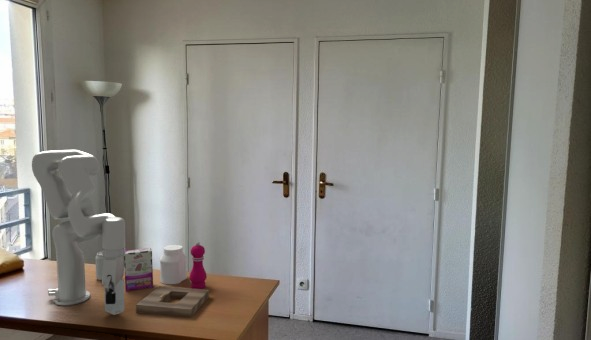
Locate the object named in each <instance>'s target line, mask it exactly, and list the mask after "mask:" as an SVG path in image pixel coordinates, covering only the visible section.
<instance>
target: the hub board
mask: <svg viewBox="0 0 591 340" xmlns="http://www.w3.org/2000/svg"><path fill="white" fill-rule="evenodd" d="M209 297H210V290H209V289H204V288H203V289H192V288H191V287H189V288H188V287H179V286H178V287H175V286H163V285H159V286H158V287H156V288H155V289H154V290H152V292H150V293H149V294H148V295H146V296H145V297H143V298H142V299H141V300H140V301H139V302H138V303H136V304H135V312H136V313H141V314H150V315H162V316H170V317H171V316H173V317H184V318H192V317H193V316H194V315H195V314H196V312H197V311H198V310H199V309H200V308H201V307H202V306H203V304H204V303H205V302H206V301H207V300H208V299H209ZM171 299H180V300H179V301H178V302H177V303H175V302H169V301H170V300H171Z"/></svg>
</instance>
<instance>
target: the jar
mask: <svg viewBox="0 0 591 340" xmlns="http://www.w3.org/2000/svg"><path fill="white" fill-rule="evenodd" d="M183 249H184V248H183V245H179V244H169V245H165V246H164V247H163V254H162V255H161V256H160V258H159V265H160V266H159V269H160V270H159V271H160V272H159V273H160V274H159V275H160V276H159V277H160V279H159V281H160V283H162V284H164V285H170V286H171V285H179V284H181V282H182V281H183V282H184V281H185V280H186V279H187V278H188V276H187V272H188V271H187V267H188V266H187V259H188V257H187V256H186V254H185V253H184V250H183Z"/></svg>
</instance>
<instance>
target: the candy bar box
mask: <svg viewBox="0 0 591 340" xmlns="http://www.w3.org/2000/svg"><path fill="white" fill-rule="evenodd" d="M152 250H153V249H152V248H151V247H148V248H147V247H146V248H138V249H130V250H128V249H127V250H125V256H124V257H123V258H124V290H125V292H131V291H132V292H133V291H137V290H139V291H140V290H144V289H145V290H146V289H152V288H154V274H153V273H154V271H153V270H154V269H153V268H154V267H153V251H152Z"/></svg>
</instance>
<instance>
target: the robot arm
mask: <svg viewBox="0 0 591 340" xmlns="http://www.w3.org/2000/svg"><path fill="white" fill-rule="evenodd" d="M31 170H32V173H33V176H34V179H35V180H36V182H37V183H38V184H39V186H40V188H41V191H42V192H43V196H44V197H43V198H44V199H45V202H46V206H47V209H48V211H49V213H50V216H51V218H53V219H54V220H65V219H69V220H67V221H62V222H60V223H58V224H56V225H55V226H54V227H53V229H52V231H51V232H52V233H51V235H52V240H53V244H54V247H55V255H56V272H57V288H49V289H48V290H47V294H48V296H49V297H51V296H52V297H54V298H53V302H54V304H55V305H58V306H72V305H77V304H81V303H83V302H85V301H87V300H88V299H90V297H91V293H90V291H88V290H86V289H87V288H86V269H85V253H84V252H83V250H82V249H81V248H80V247H79V246H78V244H82V243H85V242H90V241H93V240H96V239H98V238H99V237H100V236H102V237H101V240H102V241H101V242H102V245H101V249H102V250H101V252H102V257H103V258H104V260H103V269H102V281H101V285H102V287H104V295H105V294H106V304H115V303H116V293H114V292H115V285H117V284H118V282H119V281H120V279H122V280H123V278H124V276H125V267H124V256H125V251H126V220H125V219H124V218H123V217H119V216H116V215H114V214H113V213H109V212H105V213H100V214H99V213H97V210H96V207H95V204H94V201H93V199H92V198H91V197H92V195H94V193H96V190H97V187H96V185H95V183H94V181H93V179H92V178H91V177H93V176H97V175H98V174H99V173H100V170H101V165H100V161H99V160H98V158H96V156H94V155H93V154H91V153H88V152H84V151H81V150H79V149H61V150H60V149H57V150H56V149H55V150H53V149H52V150H44V151H43V150H42V151H40V152H37V153H36V154H35V155H34V156H32V159H31ZM57 172H60V174H61V175H58V174H56V173H57ZM61 176H62V177H61ZM110 283H114V284H113V285H110ZM110 286H113V288H112V289H111V288H110ZM105 291H106V292H105Z"/></svg>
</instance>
